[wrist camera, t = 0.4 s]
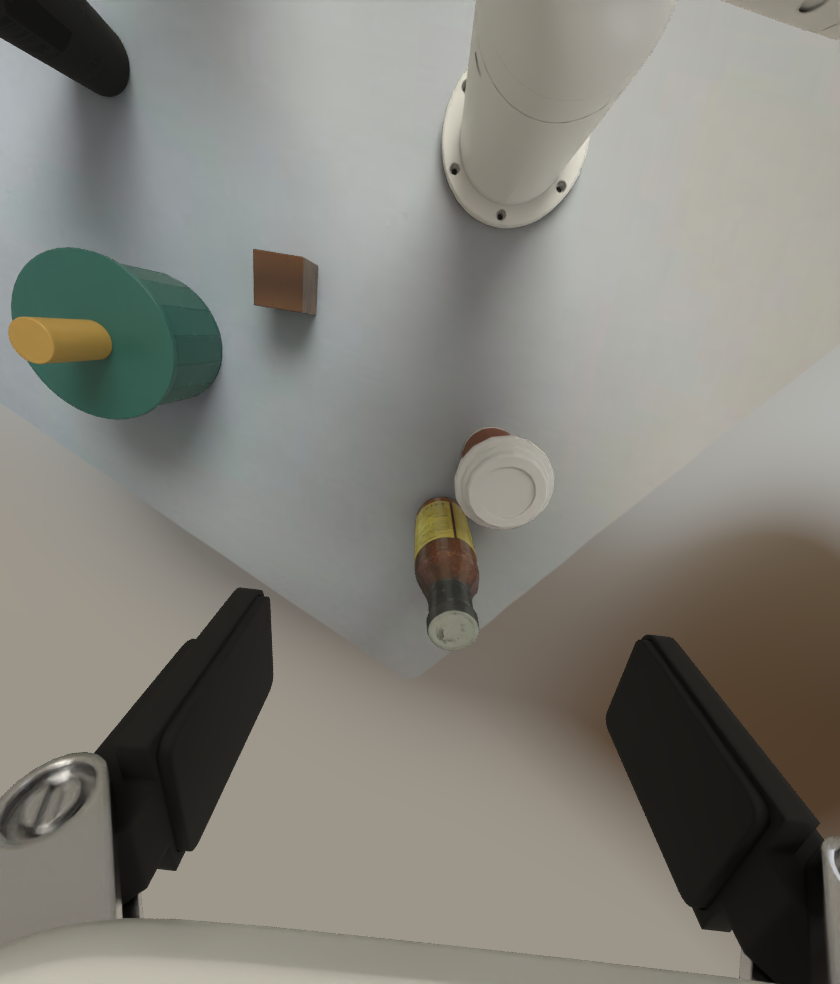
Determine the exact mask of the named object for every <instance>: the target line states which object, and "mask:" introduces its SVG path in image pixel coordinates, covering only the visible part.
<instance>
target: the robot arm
mask: <svg viewBox="0 0 840 984" xmlns="http://www.w3.org/2000/svg"><path fill="white" fill-rule="evenodd" d="M722 1H724V2H727V3H730V4H733V5H736V6H738V7H741V8H744V9H747V10H749V11H752V12H755V13H758V14H761V15H763V16H766V17H769V18H772V19H775V20H777V21H780V22H783V23H786V24H788V25H791V26H794V27H797V28H800V29H802V30H805V31H810V32H813V33H816V34H819V35H822V36H825V37H828V38H831V39H835V40H839V41H840V0H722ZM677 2H678V0H476V5H475V13H474V22H473V30H472V38H471V47H470V55H469V64H468V69H467V70H466V71H465V72H464V74H463V75H462V76H461V78H460V80H459V82H458V83H457V85H456V87H455V89H454V91H453V93H452V95H451V98H450V101H449V103H448V106H447V109H446V114H445V118H444V123H443V130H442V159H443V165H444V171H445V175H446V178H447V181H448V184H449V186H450V189H451V191H452V192H453V194H454V196H455V198H456V199H457V201H458V202H459V204H460V205H461V206H462V207H463V208H464V209H465V211H466V212H467V213H469V214H470V215H471V216H473V217H474V218H475V219H476V220H478V221H480V222H482V223H484V224H487V225H489V226H493V227H498V228H517V227H521V226H525V225H528V224H530V223H533V222H535V221H537V220H539V219H541V218H542V217H543V216H545V215H546V214H548V213H549V212H550V211H552V210H553V209H554V208H555V207H556V206H557V205H558V204H559V203H560V202H561V201H562V199H563V198H564V197H565V196H566V195H567V194H568V192H569V191H570V189H571V188H572V186H573V184H574V183H575V181H576V179H577V178H578V176H579V174H580V171H581V169H582V166H583V164H584V161H585V158H586V154H587V150H588V146H589V142H590V134H591V133H592V132H593V130H594V129H595V128H596V126H597V125H598V124H599V122H600V121H601V120H602V119H603V117H604V116H605V115H606V113H607V112H608V111H609V109H610V108H611V107H612V106H613V104H614V103H615V102H616V100H617V99H618V98H619V96H620V95H621V94H622V93H623V91H624V90H625V89H626V87H627V86H628V85H629V83H630V82H631V81H632V79H633V78H634V77H635V75H636V74H637V72H638V71H639V70H640V68H641V67H642V66H643V65H644V63H645V62H646V60H647V59H648V57H649V56H650V54H651V53H652V51H653V50H654V48H655V47H656V45H657V43H658V41H659V40H660V38H661V36H662V34H663V33H664V31H665V29H666V27H667V25H668V22H669V20H670V18H671V16H672V13H673V11H674V9H675V6H676V4H677ZM464 90H465V93H463V91H464ZM452 170H456V171H457V174H456V175H453V174H452ZM557 187H560V188H561V192H560V193H559V192H557V190H556V188H557ZM498 215H502V220H498V218H497V216H498ZM272 682H273V656H272V633H271V610H270V599H269V597H265V596H264V594H263V591H262V590H257V589H248V588H237V589H236V590H235V591H234V592H233V593H232V595H231V596H230V597H229V598H228V600H227V601H226V602H225V603H224V605H223V606H222V607H221V608H220V610H219V611H218V612H217V613H216V615H215V616H214V617H213V619H212V620H211V621H210V622H209V624H208V625H207V626H206V627H205V629H204V630H203V631H202V632H201V634H200V635H199V636H198V637H197V639H191V640H189V641H187V642H186V643H185V644H184V645H183V646H182V647H181V648H180V649H179V651H178V652H177V653H176V654H175V655H174V657H173V658H172V659H171V660H170V662H169V663H168V664H167V665H166V666H165V668H164V669H163V670H162V671H161V673H160V674H159V675H158V676H157V677H156V679H155V680H154V681H153V682H152V683H151V685H150V686H149V687H148V688H147V690H146V691H145V692H144V693H143V694H142V696H141V697H140V698H139V699H138V700H137V702H136V703H135V704H134V705H133V706H132V708H131V709H130V710H129V711H128V713H127V714H126V715H125V716H124V717H123V719H122V720H121V721H120V723H119V724H118V725H117V726H116V727H115V728H114V730H113V731H112V732H111V733H110V734H109V736H108V737H107V738H106V739H105V741H104V742H103V743H102V744H101V745H100V747H99V748H98V749H97V750H96V751H95V753H94V754H93V753H88V752H82V753H72V754H68V755H65V756H61V757H58V758H55V759H53V760H51V761H49V762H47V763H45V764H43V765H41V766H39V767H37V768H35V769H34V770H32V771H31V772H30V773H28V774H27V775H25V776H24V777H23V778H21V779H20V780H18V781H17V782H16V783H15V784H14V785H13V786H12V787H11V788H10V789H9V790H8V791H7V792H6V793H5V794H4V795H3V796H2V797H1V798H0V984H840V837H829V838H828V839H826V840H824V839H823V838H822V837H821V835H820V834H819V833H818V831H817V830H816V828H817V827H818V825H819V824H820V822H819V821H818V820H817V818H816V817H815V816H814V815H813V814H812V812H811V811H810V810H809V808H808V807H807V806H806V805H805V803H804V802H803V801H802V799H801V798H800V797H799V796H798V795H797V793H796V792H795V791H794V790H793V788H792V787H791V786H790V784H789V783H788V782H787V781H786V779H785V778H784V777H783V776H782V774H781V773H780V772H779V770H778V769H777V768H776V767H775V765H774V764H773V763H772V762H771V760H770V759H769V758H768V757H767V755H766V754H765V753H764V752H763V750H762V749H761V748H760V747H759V745H758V744H757V743H756V741H755V740H754V739H753V738H752V736H751V735H750V734H749V733H748V731H747V730H746V729H745V728H744V726H743V725H742V724H741V722H740V721H739V720H738V719H737V717H736V716H735V715H734V714H733V712H732V711H731V710H730V709H729V707H728V706H727V705H726V704H725V702H724V701H723V700H722V699H721V697H720V696H719V695H718V693H717V692H716V691H715V690H714V688H713V687H712V686H711V685H710V683H709V682H708V681H707V680H706V678H705V677H704V676H703V675H702V673H701V672H700V671H699V669H698V668H697V667H696V666H695V664H694V663H693V662H692V661H691V659H690V658H689V657H688V656H687V654H686V653H685V652H684V651H683V649H682V648H681V647H680V646H679V644H678V643H677V642H676V641H675V640H674V639H673V638H671V637H665V636H656V635H645V636H644V637H643V638H642V639H641V640H638V641H637V642H636V643H635V645H634V648H633V650H632V653H631V655H630V658H629V660H628V662H627V665H626V667H625V670H624V672H623V675H622V677H621V679H620V682H619V685H618V687H617V689H616V692H615V694H614V696H613V699H612V701H611V704H610V706H609V709H608V711H607V714H606V725H607V729H608V731H609V733H610V736H611V738H612V740H613V743H614V745H615V747H616V749H617V752H618V754H619V756H620V758H621V761H622V763H623V765H624V768H625V770H626V772H627V775H628V777H629V779H630V781H631V784H632V786H633V788H634V790H635V793H636V795H637V797H638V800H639V802H640V804H641V806H642V809H643V811H644V813H645V816H646V818H647V820H648V822H649V824H650V827H651V829H652V831H653V834H654V836H655V838H656V841H657V843H658V845H659V847H660V850H661V852H662V854H663V857H664V859H665V861H666V863H667V866H668V868H669V870H670V872H671V875H672V877H673V879H674V881H675V884H676V886H677V888H678V891H679V893H680V895H681V897H682V898H683V900H684V901H685V902H686V904H688V905H689V906H690V907H692V908H693V911H694V913H695V915H696V917H697V919H698V922H699V924H700V926H701V928H702V929H705V930H715V931H723V932H730V931H731V930H733V932H734V934H735V936H736V938H737V940H738V942H739V944H740V946H741V958H740V971H739V978H731V977H723V976H714V975H706V974H697V973H689V972H680V971H671V970H663V969H655V968H646V967H637V966H629V965H620V964H611V963H603V962H594V961H586V960H577V959H567V958H559V957H550V956H541V955H532V954H522V953H514V952H504V951H494V950H485V949H477V948H467V947H458V946H449V945H440V944H431V943H422V942H413V941H403V940H393V939H384V938H374V937H365V936H355V935H344V934H336V933H325V932H317V931H307V930H297V929H287V928H277V927H268V926H256V925H243V924H231V923H217V922H206V921H193V920H181V919H144V918H143V907H142V897H141V892H142V891H143V890H145V889H146V888H147V887H148V885H149V883H150V881H151V879H152V877H153V876H154V874H155V872H156V870H157V869H163V870H172V871H176V870H177V868H178V866H179V864H180V861H181V859H182V857H183V855H184V853H185V851H193V850H194V848H195V847H196V846H197V844H198V842H199V840H200V838H201V836H202V834H203V832H204V830H205V828H206V825H207V823H208V821H209V819H210V817H211V815H212V813H213V811H214V809H215V806H216V804H217V802H218V800H219V798H220V796H221V794H222V792H223V789H224V787H225V785H226V783H227V781H228V779H229V777H230V774H231V772H232V770H233V768H234V766H235V764H236V761H237V760H238V757H239V755H240V753H241V751H242V749H243V747H244V745H245V742H246V740H247V738H248V736H249V734H250V732H251V730H252V727H253V726H254V723H255V721H256V719H257V717H258V715H259V713H260V711H261V709H262V706H263V704H264V702H265V700H266V698H267V696H268V693H269V691H270V689H271V685H272Z"/></svg>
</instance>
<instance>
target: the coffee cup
mask: <svg viewBox="0 0 840 984" xmlns="http://www.w3.org/2000/svg"><path fill="white" fill-rule="evenodd" d="M454 484H455V497H456V500H457V502H458V503H459V505H460V507H461V509H462V511H463V513H464V514H465V515H466V516H468V517H469V518H470V519H472V520H473V521H474V522H475V523H477V524H478V525H481V526H485V527H488V528H492V529H495V530H499V529H513V528H517V527H519V526H521V525H523V524H526V523H528V522H530V521H532V520H533V519H534V518H535V517H536V516H537V515H539V514H540V513H541V512H542V511H543V510H544V509H545V508H546V506H547V504H548V502H549V499H550V497H551V495H552V493H553V491H554V471H553V468H552V466H551V464H550V462H549V459H548V457H547V455H546V454H545V453H544V452H543V451H542V450H541V449H539V448H538V447H537V446H536V445H535V444H534V443H533V442H531V441H529V440H526V439H523V438H520V437H516V436H513V435H510V434H509V433H508V432H507V431H506V430H504V429H501V428H498V427H483V428H481V429H479V430H477V431H475V432H473V433H472V434H471V435H470V437H469V438H468V439H467V440H466V441H465V444H464V447H463V450H462V459H461V460H460V463H459V466H458V468H457V471H456V474H455V477H454Z"/></svg>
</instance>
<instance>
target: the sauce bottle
mask: <svg viewBox="0 0 840 984" xmlns="http://www.w3.org/2000/svg"><path fill="white" fill-rule="evenodd" d="M415 575H416V579H417V582H418V584H419V586H420V588H421V590H422V592H423V593H424V595H425V597H426V599H427V601H428V604H429V614H428V617H427V632H428V635H429V638H430V639H431V641H432V642H433V643H434V644H435V645H436V646H437V647H440V648H441V649H444V650H449V651H454V650H460V649H463V648H466V647H468V646H469V645H471V644H472V643H473V642H474V641H475V640H476V638H477V636H478V633H479V624H478V618H477V614H476V612H475V611H474V609H473V605H472V598H473V597H474V595H475V594H476V593H477V590H478V584H479V570H478V566H477V559H476V554H475V550H474V546H473V542H472V537H471V533H470V530H469V526H468V522H467V518H466V515H465V514H464V513H463V511H462V509H461V507H460V505H459V504H458V503H456V502H455V501H453V500H451V499H449V498H446V497H437V498H433V499H430V500H428V501H426V502H425V503H424V504H423V506H422V507H421V508H420V509H419V511H418V513H417V518H416V523H415Z"/></svg>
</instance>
